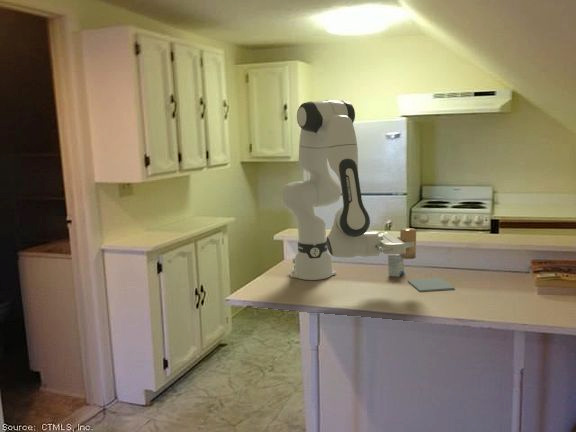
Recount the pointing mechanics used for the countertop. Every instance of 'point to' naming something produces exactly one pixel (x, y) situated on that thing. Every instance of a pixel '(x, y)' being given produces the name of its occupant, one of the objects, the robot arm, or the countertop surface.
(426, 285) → the mat
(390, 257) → the medicine box
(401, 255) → the tea tin
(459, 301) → the countertop surface
